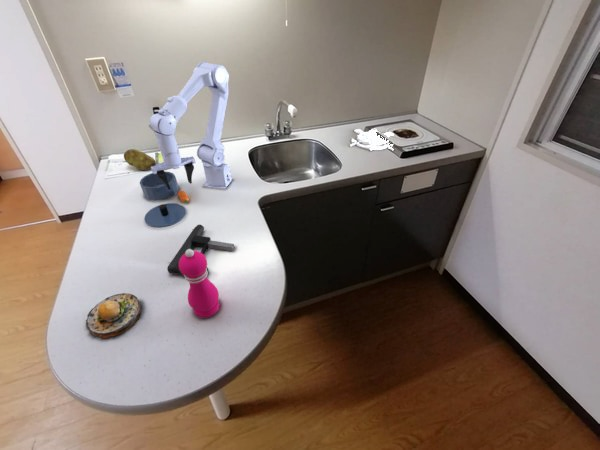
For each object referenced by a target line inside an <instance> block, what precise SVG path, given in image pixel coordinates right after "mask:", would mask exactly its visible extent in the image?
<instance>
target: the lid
mask: <svg viewBox="0 0 600 450" xmlns="http://www.w3.org/2000/svg"><path fill="white" fill-rule="evenodd" d="M186 213H187V212H186V208H185V207H184V206H183V205H182V204H179V203H175V202H170V203H162V204H159V205H157V206H155V207H152V208H151V209H149V211H147V212H146V214H145V215H144V222H145V224H146V225H147V226H149V227H152V228H166V227H170V226H172V225H175V224H177V223H179V222H180V221H182V220H183V219H184V217H185V216H186Z"/></svg>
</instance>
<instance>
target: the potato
mask: <svg viewBox="0 0 600 450" xmlns="http://www.w3.org/2000/svg"><path fill="white" fill-rule="evenodd" d="M123 159H124V161H125V162H126V163H127V165H129V166H132V167H134V168H135V169H137V170H139V171H148V170H152V169H151V167H152V166H155V165H157V163H156V159H154V158H153V157H152V156H150V155H149V154H147V153H146V152H143V151H140V150H138V149H135V148H132V149H127V150H126V151H125V152H124V153H123Z"/></svg>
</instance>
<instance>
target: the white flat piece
mask: <svg viewBox="0 0 600 450" xmlns="http://www.w3.org/2000/svg"><path fill="white" fill-rule="evenodd" d="M353 132H354V133H356V134H357V135H356V139H355V138H353V137H352V138H351V140H350V141H351V143H350V144H349V147H354V146H357V147H359V148H362V149H365V150H369V151H370V152H371V151H381V150H385V149H389V150H390V151H394V148H393V146H394V143H393V144H390V143H391V142H389V141H390V139H389V140H387V141H386V138H385V140H384V138H383V137H382V136H381V137H382V138H383V139H382V138H380V135H378V136H377V133H376V132H379V131H378V128H371V129H370V130H368V131H364V130H362V129H361V128H358V129H357V128H356V129H354V130H353ZM383 134H384V135H386V136H387V137H388V138H389V137H392V136H395V133H393V132H391V131H386V132H384V133H383ZM389 144H390V145H389Z"/></svg>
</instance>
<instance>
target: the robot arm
mask: <svg viewBox="0 0 600 450" xmlns="http://www.w3.org/2000/svg"><path fill="white" fill-rule="evenodd" d="M229 80H230V74H229V72H228V70H227V69H226V67H225V66H224V65H222V64H215V63H210V62H207V61H200V62H199V63H197V65H196V66H195V68H194V69H193V72H192V75H191V76H190V78H189V79H188V81H187V82H186V84H185V85H184V86H183V87H182V89H181V90H180V92H179V93H178V94H177V95H171V96H169V97H168V98H166V101H167V102H166V103H165V104H164V105H163V106H162V108H161V109H158V111H157V113H154V114H152V115H151V116H150V118H149V123H148V128H150V130H152V131H153V132H154V134H155V137H156V140H157V145H158V148H159V151H160V155H161V157H162V162H160V163H158V164H156V165H155V166H152V167H151V169H150V170H151V172H152V173H153V174H156V173H157V175H158V176H159V177H160V178H161V179H162V180H163V181H164V183H165V184H166V186H167V188H168V190H170V186H169V183H168V180H167V176H166V174H165V172H164V171H167V170H177V169H180V167H184V170H185V173H186V178H187V181H188V183H189V185H191V184H193V180H192V177H193V173H194V170H195V166H194V164H196V158H195V157H194V156H187V157H186V156H185V157H181V153H180V150H179V146H178V143H177V138H176V135H175V132H176V129H177V124H178V121H179V120H180V119H181V118H182V116H183V115H184V114H185V113H186V112H187V110H188V103H189V102H190V101H191V100H192V99H193V98H194V97H195V96H196V94H197V93H199V91H201V89H202V88H206V87H207V88H208V89H209V91H210V93H211V100H210V107H209V114H208V120H207V126H206V132H205V137H204V138H202V139H201V140H200V143H199V145H198V147H197V150H196V156H197V158H198V159H199V160H201V163H202V166H203V172H204V176H205V180H206V182H205V183H204V184H203V185H202V186H203V187H208V188H209V187H210V188H217V189H218V188H219V189H226V188H227V187H228V186H229V185H230V183H231V182H232V180H233V178H232V174H231V169H230V165H229V164H228V163H224V161H225V157H226V156H225V146H224V145H223V143H222V141H221V139H222V134H223V130H224V129H223V128H224V123H225V116H226V111H227V105H228V100H229V95H230V94H229V93H230V91H229ZM165 184H164V185H165Z"/></svg>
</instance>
